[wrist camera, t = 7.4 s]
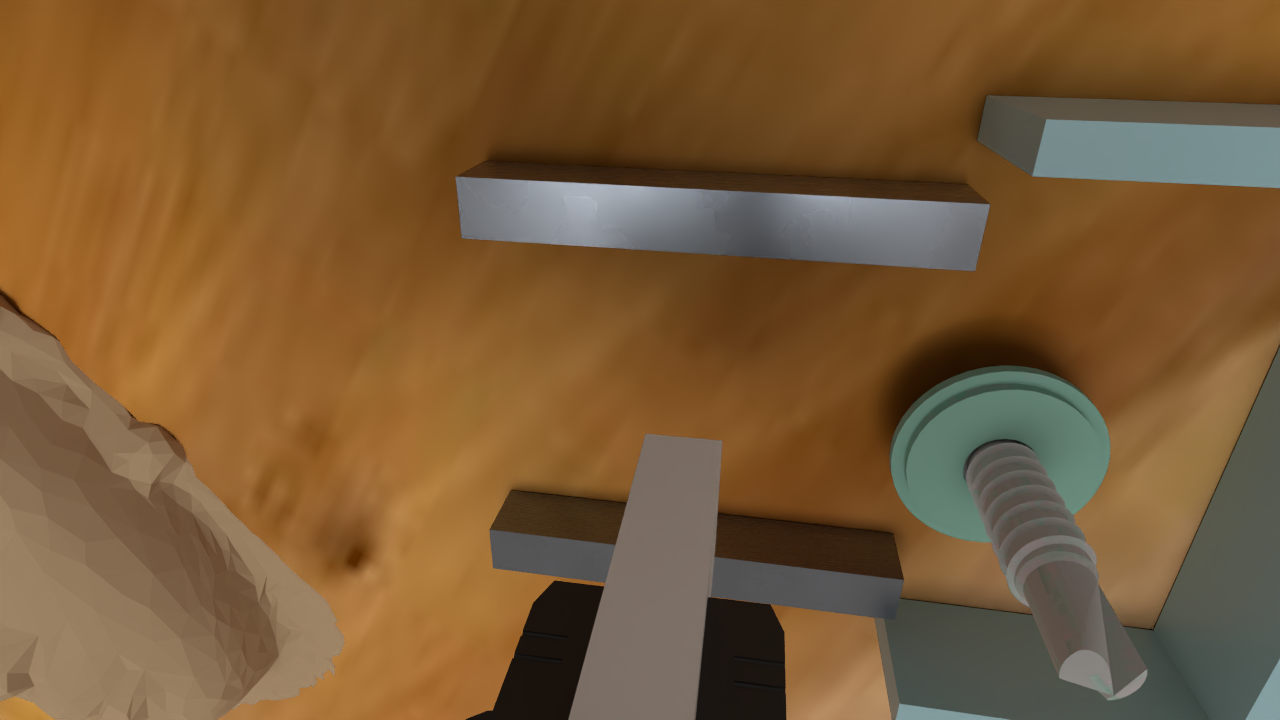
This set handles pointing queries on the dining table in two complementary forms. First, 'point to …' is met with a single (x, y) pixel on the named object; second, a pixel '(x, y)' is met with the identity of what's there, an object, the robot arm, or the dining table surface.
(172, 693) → the mask
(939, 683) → the bracket
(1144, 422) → the dining table surface
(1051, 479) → the screw
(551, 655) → the robot arm
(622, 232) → the slot
